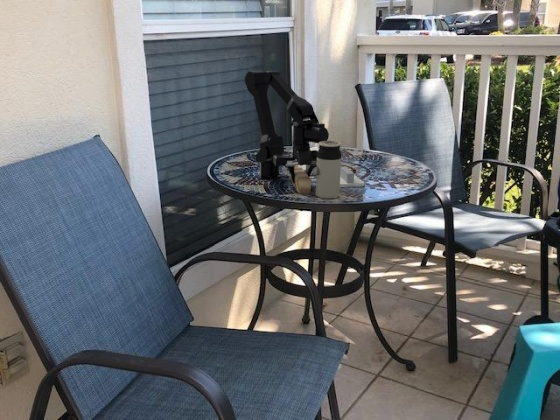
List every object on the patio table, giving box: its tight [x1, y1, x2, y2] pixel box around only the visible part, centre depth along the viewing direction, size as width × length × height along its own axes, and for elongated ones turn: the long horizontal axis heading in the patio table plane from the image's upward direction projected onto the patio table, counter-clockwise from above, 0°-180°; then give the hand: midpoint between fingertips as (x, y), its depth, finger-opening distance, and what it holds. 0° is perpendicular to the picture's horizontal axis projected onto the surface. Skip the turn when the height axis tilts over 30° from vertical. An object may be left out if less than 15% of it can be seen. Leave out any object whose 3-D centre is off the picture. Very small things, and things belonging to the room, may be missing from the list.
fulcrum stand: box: [340, 166, 366, 188], centre depth 207 cm, size 10×12×4 cm
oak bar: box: [289, 166, 312, 194], centre depth 201 cm, size 18×4×5 cm, turn 9°
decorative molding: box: [297, 145, 319, 176], centre depth 233 cm, size 34×5×10 cm
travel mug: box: [315, 140, 342, 200], centre depth 188 cm, size 8×8×18 cm
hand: (300, 183), depth 202 cm, fingers closed on oak bar, 4 cm apart
